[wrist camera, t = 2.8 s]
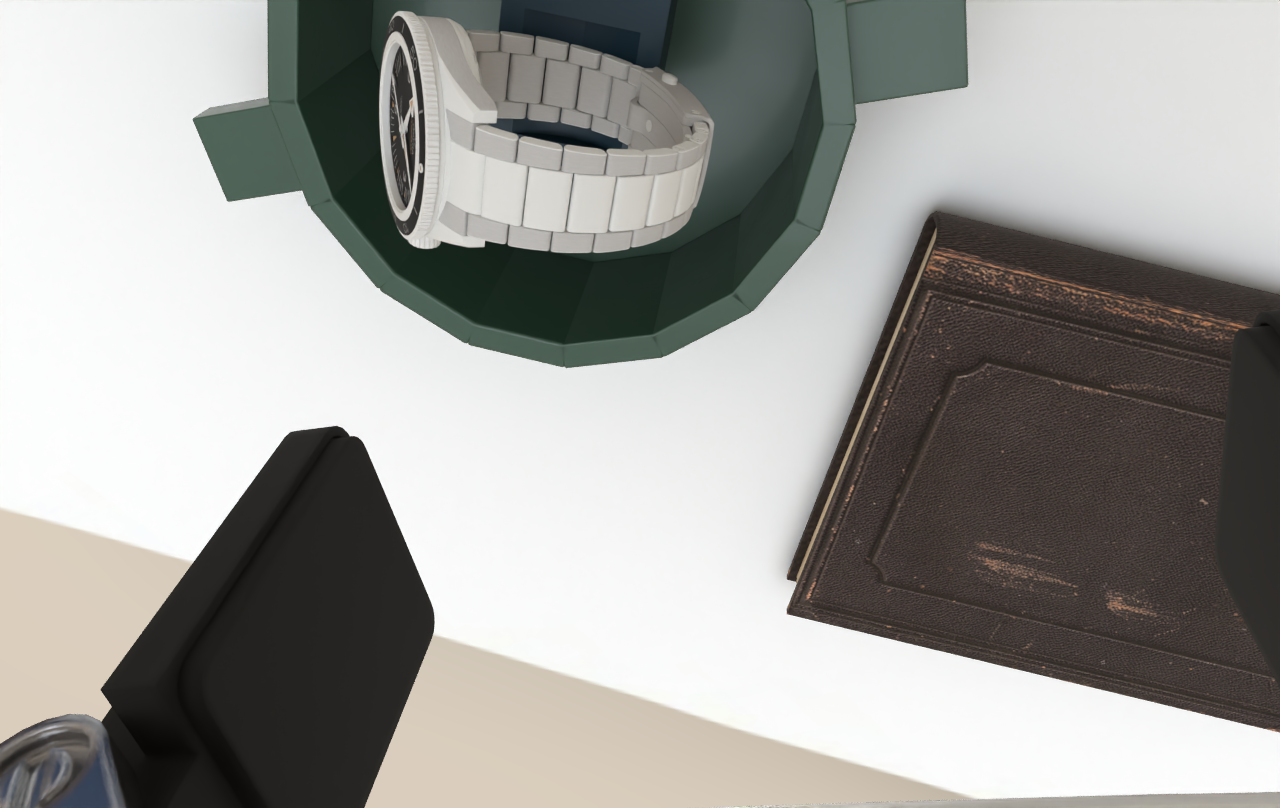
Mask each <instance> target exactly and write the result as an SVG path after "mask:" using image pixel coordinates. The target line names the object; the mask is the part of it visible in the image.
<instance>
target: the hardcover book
mask: <svg viewBox="0 0 1280 808" xmlns="http://www.w3.org/2000/svg"><path fill="white" fill-rule="evenodd" d="M1271 310H1280V295H1277V294H1273V293H1269V292H1264V291H1260V290H1256V289H1252V288H1248V287H1244V286H1240V285H1236V284H1232V283H1228V282H1224V281H1219V280H1215V279H1211V278H1207V277H1203V276H1199V275H1195V274H1191V273H1187V272H1183V271H1179V270H1174V269H1170V268H1166V267H1162V266H1158V265H1154V264H1150V263H1146V262H1142V261H1138V260H1134V259H1129V258H1125V257H1121V256H1117V255H1113V254H1109V253H1105V252H1101V251H1097V250H1093V249H1089V248H1084V247H1080V246H1076V245H1072V244H1068V243H1064V242H1060V241H1056V240H1052V239H1048V238H1044V237H1039V236H1035V235H1031V234H1027V233H1023V232H1019V231H1015V230H1011V229H1007V228H1003V227H999V226H994V225H990V224H986V223H982V222H978V221H974V220H970V219H966V218H962V217H958V216H954V215H949V214H945V213H941V212H937V211H936V212H934V213H932V214H931V215H930V216H929V217H928V219H927V220H926V222H925V224H924V227H923V229H922V232H921V235H920V237H919V240H918V242H917V245H916V247H915V250H914V252H913V255H912V257H911V260H910V263H909V265H908V268H907V270H906V273H905V275H904V278H903V280H902V283H901V286H900V288H899V291H898V293H897V296H896V298H895V301H894V303H893V306H892V309H891V311H890V314H889V316H888V319H887V321H886V324H885V326H884V329H883V331H882V334H881V337H880V339H879V342H878V344H877V347H876V349H875V352H874V354H873V357H872V360H871V362H870V365H869V367H868V370H867V372H866V375H865V377H864V380H863V383H862V385H861V388H860V390H859V393H858V395H857V398H856V400H855V403H854V406H853V408H852V411H851V413H850V416H849V418H848V421H847V423H846V426H845V428H844V431H843V434H842V436H841V439H840V441H839V444H838V446H837V449H836V451H835V454H834V457H833V459H832V462H831V464H830V467H829V469H828V472H827V474H826V477H825V480H824V482H823V485H822V487H821V490H820V492H819V495H818V497H817V500H816V502H815V505H814V508H813V510H812V513H811V515H810V518H809V520H808V523H807V525H806V528H805V531H804V533H803V536H802V538H801V541H800V543H799V546H798V548H797V551H796V554H795V556H794V559H793V561H792V564H791V566H790V569H789V571H788V574H787V580H791V581H795V582H797V585H796V588H795V590H794V593H793V595H792V598H791V600H790V602H789V605H788V607H787V614H789V615H793V616H797V617H801V618H805V619H809V620H814V621H818V622H822V623H826V624H830V625H834V626H839V627H843V628H847V629H851V630H855V631H859V632H864V633H868V634H872V635H876V636H880V637H884V638H889V639H893V640H897V641H901V642H905V643H909V644H914V645H918V646H922V647H926V648H930V649H934V650H939V651H943V652H947V653H951V654H955V655H959V656H963V657H968V658H972V659H976V660H980V661H984V662H988V663H993V664H997V665H1001V666H1005V667H1009V668H1013V669H1018V670H1022V671H1026V672H1030V673H1034V674H1038V675H1043V676H1047V677H1051V678H1055V679H1059V680H1063V681H1068V682H1072V683H1076V684H1080V685H1084V686H1088V687H1093V688H1097V689H1101V690H1105V691H1109V692H1113V693H1118V694H1122V695H1126V696H1130V697H1134V698H1138V699H1143V700H1147V701H1151V702H1155V703H1159V704H1163V705H1168V706H1172V707H1176V708H1180V709H1184V710H1188V711H1193V712H1197V713H1201V714H1205V715H1209V716H1213V717H1218V718H1222V719H1226V720H1230V721H1234V722H1238V723H1243V724H1247V725H1251V726H1255V727H1259V728H1263V729H1268V730H1272V731H1276V732H1280V687H1279V686H1278V684H1277V682H1276V680H1275V678H1274V676H1273V674H1272V672H1271V670H1270V669H1269V667H1268V665H1267V663H1266V661H1265V659H1264V657H1263V655H1262V653H1261V651H1260V650H1259V648H1258V646H1257V644H1256V642H1255V640H1254V638H1253V636H1252V634H1251V633H1250V631H1249V629H1248V627H1247V625H1246V623H1245V621H1244V619H1243V617H1242V616H1241V614H1240V612H1239V610H1238V608H1237V606H1236V604H1235V602H1234V600H1233V598H1232V597H1231V595H1230V593H1229V591H1228V589H1227V587H1226V585H1225V583H1224V581H1223V579H1222V577H1221V575H1220V572H1219V569H1218V566H1217V561H1216V556H1215V547H1214V546H1215V530H1216V519H1217V508H1218V497H1219V486H1220V475H1221V465H1222V454H1223V443H1224V432H1225V421H1226V410H1227V399H1228V389H1229V378H1230V367H1231V356H1232V345H1233V340H1234V336H1235V334H1236V332H1237V331H1238V330H1239V329H1245V328H1252V326H1253V322H1254V320H1255V318H1256V316H1257V315H1258V314H1259V313H1260V312H1263V311H1271Z"/></svg>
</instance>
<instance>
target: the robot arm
mask: <svg viewBox="0 0 1280 808" xmlns="http://www.w3.org/2000/svg"><path fill="white" fill-rule="evenodd" d="M1214 547H1215V556H1216V561H1217V566H1218V569H1219V572H1220V575H1221V577H1222V579H1223V581H1224V583H1225V585H1226V587H1227V589H1228V591H1229V593H1230V595H1231V597H1232V598H1233V600H1234V602H1235V604H1236V606H1237V608H1238V610H1239V612H1240V614H1241V616H1242V617H1243V619H1244V621H1245V623H1246V625H1247V627H1248V629H1249V631H1250V633H1251V634H1252V636H1253V638H1254V640H1255V642H1256V644H1257V646H1258V648H1259V650H1260V651H1261V653H1262V655H1263V657H1264V659H1265V661H1266V663H1267V665H1268V667H1269V669H1270V670H1271V672H1272V674H1273V676H1274V678H1275V680H1276V682H1277V684H1278V686H1279V687H1280V310H1271V311H1263V312H1260V313H1259V314H1258V315H1257V316H1256V318H1255V320H1254V322H1253V326H1252V328H1245V329H1239V330H1238V331H1237V332H1236V334H1235V336H1234V340H1233V345H1232V356H1231V367H1230V378H1229V389H1228V399H1227V410H1226V421H1225V432H1224V443H1223V454H1222V465H1221V475H1220V486H1219V497H1218V508H1217V519H1216V530H1215V546H1214ZM433 632H434V611H433V607H432V604H431V601H430V599H429V597H428V594H427V592H426V590H425V587H424V585H423V582H422V580H421V578H420V575H419V573H418V571H417V568H416V566H415V563H414V561H413V559H412V556H411V554H410V552H409V549H408V547H407V545H406V542H405V540H404V537H403V535H402V533H401V530H400V528H399V526H398V523H397V521H396V519H395V516H394V514H393V511H392V509H391V507H390V504H389V502H388V500H387V497H386V495H385V492H384V490H383V488H382V485H381V483H380V481H379V478H378V476H377V474H376V471H375V469H374V466H373V464H372V462H371V459H370V457H369V455H368V452H367V450H366V448H365V446H364V444H363V442H362V441H361V440H360V439H359V438H358V437H355V436H351V437H350V436H349V434H348V433H347V432H346V431H345V430H344V429H343V428H341V427H338V426H333V427H325V428H317V429H308V430H300V431H294V432H290V433H289V434H288V435H287V436H286V437H285V438H284V439H283V441H282V442H281V443H280V445H279V446H278V447H277V449H276V450H275V452H274V453H273V454H272V456H271V457H270V458H269V460H268V461H267V462H266V464H265V465H264V467H263V468H262V469H261V471H260V472H259V473H258V475H257V476H256V478H255V479H254V480H253V482H252V483H251V484H250V486H249V487H248V488H247V490H246V491H245V493H244V494H243V495H242V497H241V498H240V499H239V501H238V502H237V504H236V505H235V506H234V508H233V509H232V510H231V512H230V513H229V514H228V516H227V517H226V519H225V520H224V521H223V523H222V524H221V525H220V527H219V528H218V530H217V531H216V532H215V534H214V535H213V536H212V538H211V539H210V540H209V542H208V543H207V545H206V546H205V547H204V549H203V550H202V551H201V553H200V554H199V556H198V557H197V558H196V560H195V561H194V562H193V564H192V565H191V566H190V568H189V569H188V571H187V572H186V573H185V575H184V576H183V578H182V579H181V580H180V582H179V583H178V584H177V586H176V587H175V588H174V590H173V591H172V592H171V594H170V595H169V597H168V598H167V599H166V601H165V602H164V604H163V605H162V606H161V608H160V609H159V610H158V612H157V613H156V614H155V616H154V617H153V618H152V620H151V622H150V623H149V624H148V625H147V627H146V628H145V629H144V631H143V632H142V634H141V635H140V636H139V638H138V639H137V640H136V642H135V643H134V645H133V646H132V647H131V649H130V650H129V651H128V653H127V654H126V655H125V657H124V658H123V660H122V661H121V662H120V664H119V665H118V666H117V668H116V669H115V671H114V672H113V673H112V675H111V676H110V677H109V679H108V680H107V681H106V683H105V684H104V686H103V687H102V688H101V691H102V693H103V694H104V696H105V697H106V698H107V700H108V701H109V703H110V704H111V706H112V708H111V709H110V710H109V712H108V713H107V715H106V716H105V718H104V719H103V721H102V722H101V721H100V720H97V719H95V718H93V717H91V716H89V715H80V714H79V715H76V714H67V715H64V716H59V717H55V718H51V719H47V720H44V721H42V722H40V723H37V724H35V725H33V726H30V727H28V728H26V729H23V730H22V731H20V732H18V733H17V734H15V735H14V736H12V737H10V738H9V739H7V740H5V741H4V742H2V743H1V744H0V808H364V807H365V804H366V802H367V799H368V797H369V794H370V792H371V789H372V787H373V784H374V781H375V779H376V777H377V774H378V772H379V769H380V766H381V764H382V762H383V759H384V757H385V754H386V752H387V749H388V747H389V744H390V742H391V739H392V737H393V734H394V732H395V729H396V727H397V724H398V722H399V719H400V717H401V714H402V712H403V709H404V706H405V704H406V702H407V699H408V697H409V694H410V691H411V689H412V686H413V684H414V682H415V679H416V676H417V674H418V672H419V669H420V667H421V664H422V661H423V659H424V656H425V654H426V651H427V649H428V646H429V644H430V641H431V639H432V636H433ZM716 808H1280V792H1259V793H1211V794H1148V795H1112V796H1077V797H1042V798H1007V799H972V800H941V801H940V800H937V801H905V802H904V801H901V802H866V803H836V804H806V805H776V806H748V807H747V806H746V807H745V806H744V807H716Z"/></svg>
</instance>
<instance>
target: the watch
mask: <svg viewBox="0 0 1280 808" xmlns="http://www.w3.org/2000/svg"><path fill="white" fill-rule="evenodd" d="M677 1H678V0H501V11H500V22H499V32H497V31H488V30H466V31H465V30H464V28H463V27H462V26H461V25H460V24H458V23H456V22H455V21H453V20H451V19H449V18H443V17H428V16H416V15H415V14H414V13H413V12H408V11H398V12H396V13H395V14H394V16H393V17H392V19H391V21H390V24H389V26H388V29H387V32H386V36H385V40H384V45H383V51H382V59H381V68H380V83H379V129H380V145H381V157H382V166H383V174H384V180H385V186H386V192H387V197H388V201H389V205H390V209H391V212H392V215H393V218H394V221H395V223H396V226H397V228H398V230H399V232H400V233H401V235H402V236H403V237H404V238H405V239H407V240H408V242H409V243H410V244H411V245H413V246H414V247H417V248H422V249H430V248H435V247H437V246H439V245H440V244H441V241H443V242H446V243H450V244H454V245H459V246H463V247H484V246H485V240H486V241H490V242H495V243H500V244H505V243H506V242H507V241H508V245H509V246H512V247H518V248H525V249H532V250H542V251H548V250H549V249H550V242H551V251H552V252H559V253H589V252H591V251H593V252H595V253H603V252H613V251H620V250H626V249H629V248H630V246H631V247H638V246H643V245H646V244H650V243H653V242H656V241H659V240H660V239H661V238H666V237H668V236H670V235H672V234H674V233H675V232H677V231H678V230H680V229H681V228H682V226H684V225H686V223H687V222H688V221H689V219H690V217H691V213H692V210H693V208H695V207H696V206H697V203H698V200H699V197H700V194H701V191H702V187H703V183H704V179H705V175H706V171H707V166H708V161H709V156H710V150H711V144H712V138H713V130H714V122H713V120H712V119H711V117H710V115H709V114H708V112H707V111H706V110H705V108H704V107H703V105H702V104H701V103H700V102H699V100H698V99H697V98H696V97H695V96H694V95H693V94H692V93H691V92H690V91H689V90H688V89H687V88H686V87H684V86H683V85H682V84H681V83H679V82H678V79H677V77H676V76H674V75H672V74H670V73H666V72H665V66H666V61H667V56H668V50H669V45H670V39H671V34H672V28H673V23H674V18H675V12H676V7H677ZM488 123H490V126H488ZM527 177H528V182H527ZM572 183H573V184H572ZM571 185H572V191H571ZM526 186H527V190H526ZM570 192H571V198H570ZM525 194H526V199H525ZM569 199H570V205H569ZM524 203H525V208H524ZM568 206H569V212H568ZM523 212H524V216H523ZM567 213H568V219H567ZM522 220H523V221H522ZM566 221H567V226H566ZM509 225H510V226H509ZM552 231H553V233H552ZM508 232H509V236H508ZM551 234H552V240H551Z"/></svg>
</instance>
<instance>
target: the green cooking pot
mask: <svg viewBox="0 0 1280 808" xmlns="http://www.w3.org/2000/svg"><path fill="white" fill-rule="evenodd" d="M398 11H408V12H413V13H414V14H415V15H416V16H428V17H443V18H449V19H451V20H453V21H455V22H456V23H458V24H460V25H461V26H462V27H463V28H464V30H465V31H466V30H488V31H497V32H499V22H500V11H501V0H268V98H262V99H257V100H251V101H246V102H240V103H234V104H229V105H223V106H217V107H212V108H209V109H207V110H206V111H204V112H202V113H201V114H199V115H198V116H196V117H195V118H193V122H194V124H195V126H196V129H197V131H198V133H199V136H200V138H201V140H202V143H203V145H204V147H205V150H206V152H207V154H208V157H209V159H210V161H211V164H212V166H213V169H214V171H215V173H216V176H217V178H218V180H219V183H220V185H221V187H222V190H223V192H224V194H225V197H226V199H227V201H228V202H230V201H237V200H243V199H250V198H256V197H262V196H269V195H275V194H282V193H288V192H295V191H301V190H302V191H303V193H304V196H305V198H306V201H307V204H308V206H311V209H312V210H313V212H314V213H315V214H316V215H317V216H318V218H319V219H320V220H321V221H322V222H323V224H324V225H325V226H326V227H327V228H328V230H329V231H330V232H331V233H332V234H333V236H334V237H335V238H336V239H337V240H338V242H339V243H340V244H341V245H342V246H343V248H344V249H345V250H346V251H347V252H348V253H349V255H350V256H351V257H352V258H353V259H354V261H355V262H356V263H357V264H358V265H359V267H360V268H361V269H362V270H363V271H364V273H365V274H366V275H367V276H368V277H369V279H370V280H371V281H372V282H373V283H374V285H375V286H376V287H377V288H380V290H381V291H382V292H383V293H385V294H387V295H388V296H390V297H391V298H393V299H395V300H396V301H398V302H399V303H401V304H403V305H404V306H406V307H407V308H409V309H411V310H412V311H414V312H416V313H417V314H419V315H420V316H422V317H424V318H425V319H427V320H428V321H430V322H432V323H433V324H435V325H437V326H438V327H440V328H441V329H443V330H445V331H446V332H448V333H449V334H451V335H453V336H454V337H456V338H457V339H459V340H461V341H462V342H464V343H468V344H469V345H471V346H476V347H480V348H484V349H488V350H493V351H497V352H501V353H505V354H510V355H514V356H518V357H522V358H526V359H531V360H535V361H539V362H543V363H548V364H552V365H556V366H560V367H564V366H565V367H566V368H571V367H580V366H589V365H598V364H607V363H617V362H626V361H635V360H644V359H653V358H662V357H663V356H667V355H669V354H671V353H673V352H674V351H676V350H678V349H680V348H682V347H684V346H686V345H688V344H690V343H692V342H694V341H696V340H698V339H700V338H702V337H704V336H706V335H708V334H710V333H712V332H714V331H715V330H717V329H719V328H721V327H723V326H725V325H727V324H729V323H731V322H733V321H735V320H737V319H739V318H741V317H743V316H745V315H747V314H749V313H751V311H754V310H755V309H756V307H757V306H758V305H759V304H760V303H761V302H762V300H763V299H764V298H765V297H766V296H767V295H768V293H769V292H770V291H771V290H772V289H773V288H774V286H775V285H776V284H777V283H778V282H779V281H780V280H781V278H782V277H783V276H784V275H785V274H786V273H787V271H788V270H789V269H790V268H791V267H792V266H793V264H794V263H795V262H796V261H797V260H798V259H799V258H800V256H801V255H802V254H803V253H804V252H805V251H806V249H807V248H808V247H809V246H810V245H811V244H812V242H813V241H814V240H815V239H816V238H817V237H818V235H819V234H820V232H821V230H822V228H823V225H824V222H825V219H826V216H827V213H828V210H829V207H830V204H831V201H832V198H833V194H834V191H835V188H836V185H837V182H838V179H839V176H840V173H841V170H842V167H843V164H844V161H845V157H846V154H847V151H848V148H849V145H850V142H851V139H852V136H853V133H854V130H855V123H856V110H855V104H861V103H868V102H874V101H880V100H887V99H893V98H900V97H906V96H913V95H919V94H926V93H932V92H938V91H945V90H951V89H958V88H964V87H967V86H968V58H967V22H966V0H678V1H677V7H676V12H675V18H674V23H673V28H672V34H671V39H670V45H669V50H668V56H667V61H666V66H665V72H666V73H670V74H672V75H674V76H676V77H677V79H678V82H679V83H681V84H682V85H683V86H684V87H686V88H687V89H688V90H689V91H690V92H691V93H692V94H693V95H694V96H695V97H696V98H697V99H698V100H699V102H700V103H701V104H702V105H703V107H704V108H705V110H706V111H707V112H708V114H709V115H710V117H711V119H712V120H713V122H714V130H713V138H712V144H711V150H710V156H709V161H708V166H707V171H706V175H705V179H704V183H703V187H702V191H701V194H700V197H699V200H698V203H697V206H696V207H695V208H693V210H692V213H691V217H690V219H689V221H688V222H687V223H686V225H684V226H682V228H681V229H680V230H678V231H677V232H675V233H674V234H672V235H670V236H668V237H666V238H661V239H660V240H659V241H656V242H653V243H650V244H646V245H643V246H638V247H631V246H630V248H629V249H626V250H620V251H613V252H603V253H595V252H593V251H591V252H589V253H559V252H552V251H551V242H550V249H549V250H548V251H542V250H532V249H525V248H518V247H512V246H509V245H508V241H507V242H506V243H505V244H500V243H495V242H490V241H486V240H485V246H484V247H463V246H459V245H454V244H450V243H446V242H443V241H441V244H440V245H439V246H437V247H435V248H430V249H422V248H417V247H414V246H413V245H411V244H410V243H409V242H408V240H407V239H405V238H404V237H403V236H402V235H401V233H400V232H399V230H398V228H397V226H396V223H395V221H394V218H393V215H392V212H391V209H390V205H389V201H388V197H387V192H386V186H385V180H384V174H383V166H382V157H381V145H380V129H379V83H380V68H381V59H382V51H383V45H384V40H385V36H386V32H387V29H388V26H389V24H390V21H391V19H392V17H393V16H394V14H395V13H396V12H398ZM488 126H490V123H488ZM527 182H528V177H527ZM572 184H573V183H572ZM526 190H527V186H526ZM571 191H572V185H571ZM570 198H571V192H570ZM525 199H526V194H525ZM569 205H570V199H569ZM524 208H525V203H524ZM568 212H569V206H568ZM523 216H524V212H523ZM567 219H568V213H567ZM522 221H523V220H522ZM509 226H510V225H509ZM566 226H567V221H566ZM552 233H553V231H552ZM508 236H509V232H508ZM551 240H552V234H551Z"/></svg>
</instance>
